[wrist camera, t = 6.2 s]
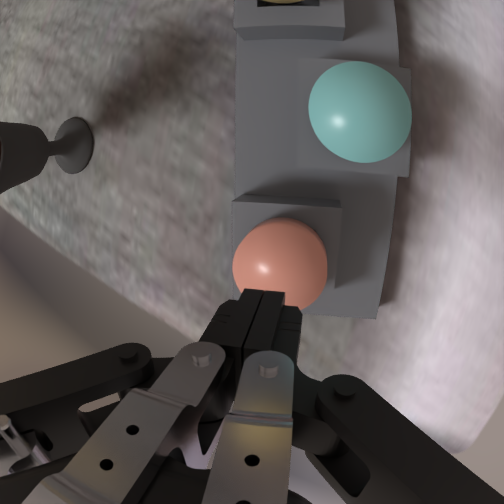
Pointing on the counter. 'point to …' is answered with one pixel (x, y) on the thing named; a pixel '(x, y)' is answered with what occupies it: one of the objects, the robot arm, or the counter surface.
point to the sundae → (41, 150)
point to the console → (314, 140)
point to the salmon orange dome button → (282, 261)
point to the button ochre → (284, 1)
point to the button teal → (360, 112)
